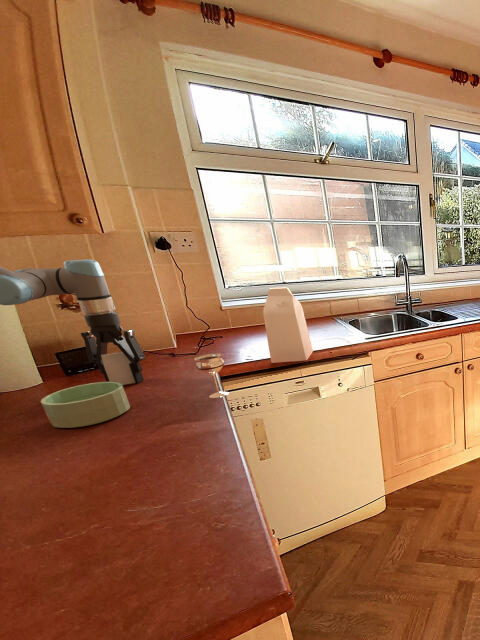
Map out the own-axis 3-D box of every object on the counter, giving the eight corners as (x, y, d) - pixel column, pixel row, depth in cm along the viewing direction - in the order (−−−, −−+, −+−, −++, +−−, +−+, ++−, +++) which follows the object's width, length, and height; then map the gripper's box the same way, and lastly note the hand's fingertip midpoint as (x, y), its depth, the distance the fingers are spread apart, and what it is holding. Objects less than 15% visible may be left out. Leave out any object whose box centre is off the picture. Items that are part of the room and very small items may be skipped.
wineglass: (234, 389, 131) (224, 352, 127) (228, 397, 125) (217, 359, 121) (209, 392, 129) (198, 354, 125) (202, 400, 123) (190, 361, 119)
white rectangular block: (139, 382, 137) (128, 352, 134) (111, 386, 134) (100, 356, 130) (140, 378, 140) (129, 350, 137) (113, 383, 137) (101, 353, 133)
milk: (313, 351, 167) (300, 285, 158) (306, 360, 157) (292, 289, 147) (280, 353, 165) (265, 286, 156) (271, 362, 155) (254, 291, 145)
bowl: (34, 431, 106) (22, 406, 103) (86, 405, 120) (76, 382, 118) (100, 428, 107) (90, 403, 105) (144, 403, 122) (136, 380, 119)
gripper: (144, 309, 133) (167, 376, 141) (74, 310, 131) (101, 379, 140) (126, 314, 126) (151, 384, 134) (52, 316, 124) (82, 387, 133)
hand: (126, 381), depth 137 cm, fingers closed on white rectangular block, 8 cm apart
